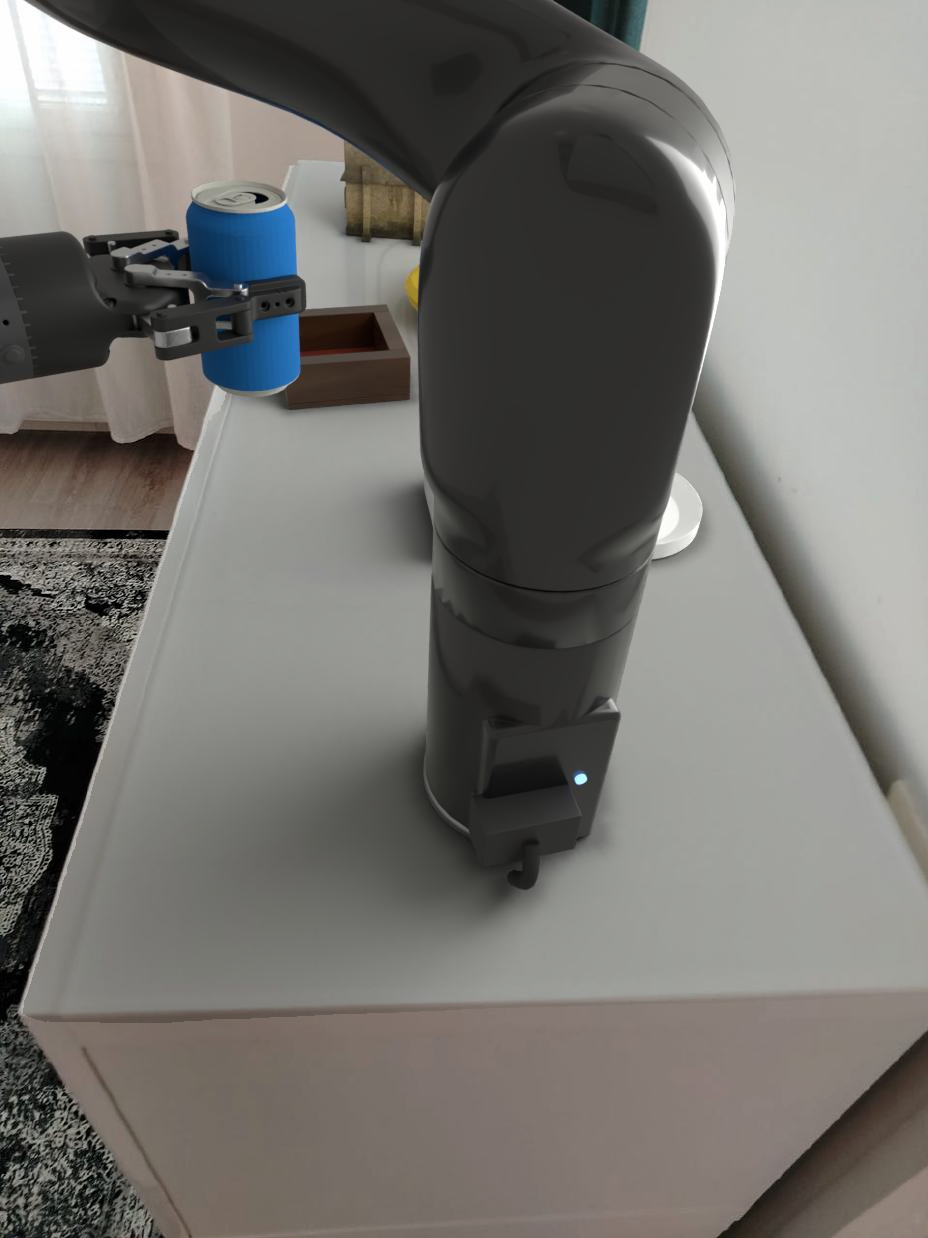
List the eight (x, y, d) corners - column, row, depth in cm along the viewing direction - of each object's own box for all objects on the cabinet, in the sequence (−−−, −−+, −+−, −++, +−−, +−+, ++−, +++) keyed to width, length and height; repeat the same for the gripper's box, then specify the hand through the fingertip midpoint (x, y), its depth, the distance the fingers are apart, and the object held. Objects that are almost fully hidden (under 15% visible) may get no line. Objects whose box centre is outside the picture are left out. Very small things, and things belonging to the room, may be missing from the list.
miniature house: (461, 248, 104) (466, 140, 96) (340, 239, 104) (335, 131, 96) (468, 204, 115) (473, 104, 107) (359, 196, 115) (356, 96, 107)
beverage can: (320, 381, 62) (316, 198, 54) (249, 412, 58) (234, 219, 50) (256, 350, 65) (243, 171, 57) (183, 378, 61) (159, 189, 53)
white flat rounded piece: (422, 443, 67) (675, 433, 70) (421, 478, 69) (666, 467, 72) (446, 539, 59) (732, 523, 62) (444, 575, 61) (720, 558, 64)
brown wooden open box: (410, 399, 78) (410, 356, 75) (288, 409, 76) (284, 366, 73) (387, 344, 85) (386, 303, 83) (275, 352, 83) (271, 310, 80)
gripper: (21, 292, 44) (330, 251, 51) (-43, 201, 52) (230, 177, 60) (54, 429, 48) (331, 373, 56) (-9, 326, 57) (239, 289, 65)
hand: (278, 272), depth 58 cm, fingers closed on beverage can, 6 cm apart
